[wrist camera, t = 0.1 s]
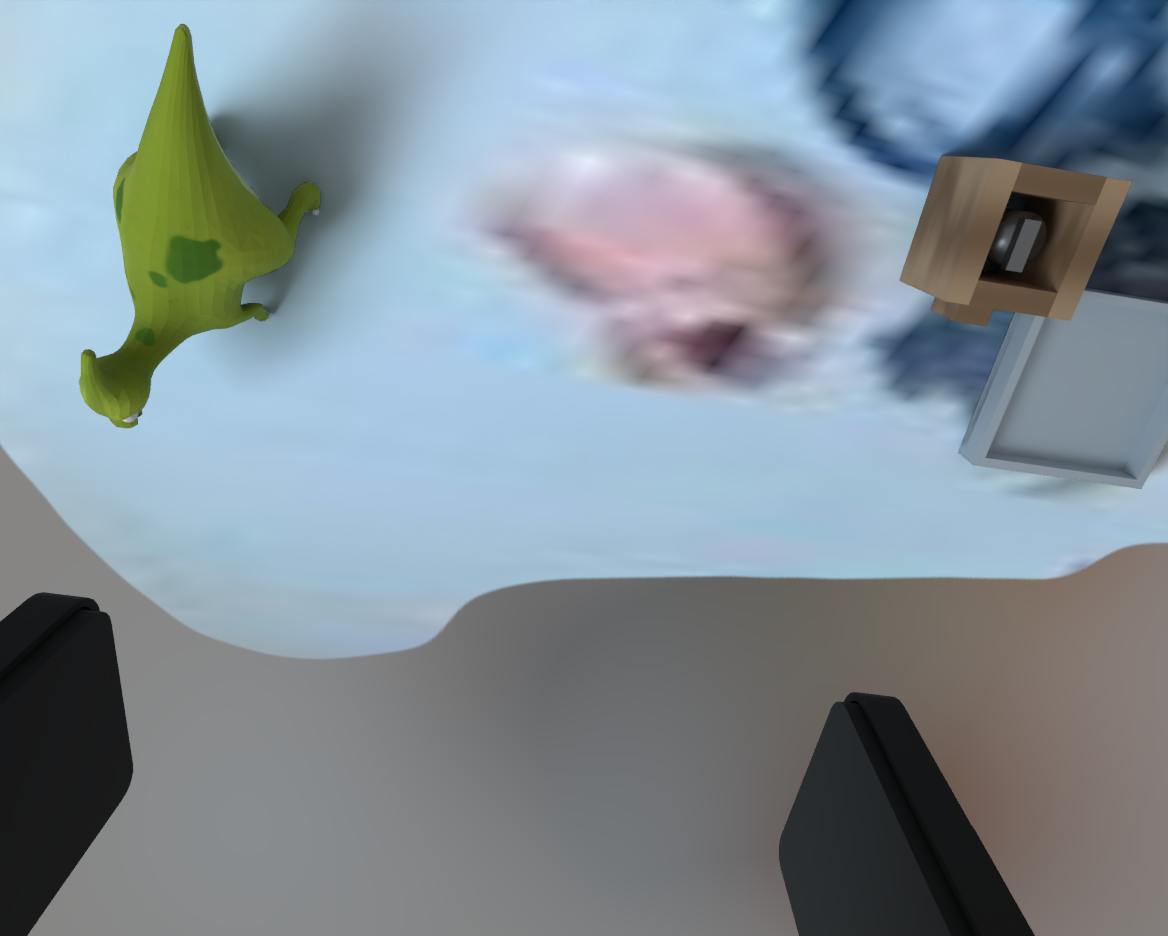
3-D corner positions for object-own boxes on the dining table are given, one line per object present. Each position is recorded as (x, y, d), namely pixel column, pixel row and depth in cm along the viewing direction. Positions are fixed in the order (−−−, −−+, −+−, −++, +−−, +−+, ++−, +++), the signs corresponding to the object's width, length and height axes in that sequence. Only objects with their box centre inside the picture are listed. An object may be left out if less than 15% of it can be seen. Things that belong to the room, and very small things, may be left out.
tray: (1029, 278, 43) (1048, 284, 41) (1208, 307, 44) (1235, 314, 42) (958, 452, 48) (972, 464, 46) (1120, 475, 48) (1141, 489, 47)
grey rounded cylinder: (962, 201, 41) (1010, 208, 36) (1008, 208, 41) (1062, 217, 37) (944, 253, 42) (988, 267, 38) (989, 260, 42) (1038, 275, 38)
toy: (185, 254, 47) (17, 415, 38) (190, -98, 30) (-104, 36, 21) (305, 317, 49) (173, 486, 39) (371, 18, 32) (172, 188, 23)
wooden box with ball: (940, 155, 40) (997, 158, 35) (1058, 176, 40) (1132, 181, 35) (891, 303, 44) (935, 327, 38) (1000, 320, 44) (1059, 346, 39)
